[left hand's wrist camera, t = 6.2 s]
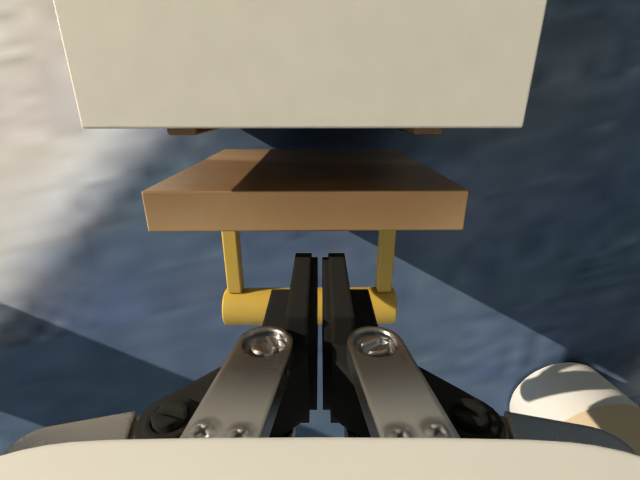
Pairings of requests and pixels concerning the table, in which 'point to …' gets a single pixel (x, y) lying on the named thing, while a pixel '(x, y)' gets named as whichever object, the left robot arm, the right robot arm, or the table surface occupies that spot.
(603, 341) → the table surface
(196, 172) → the drawer
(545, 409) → the coffee cup
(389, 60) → the cabinet
